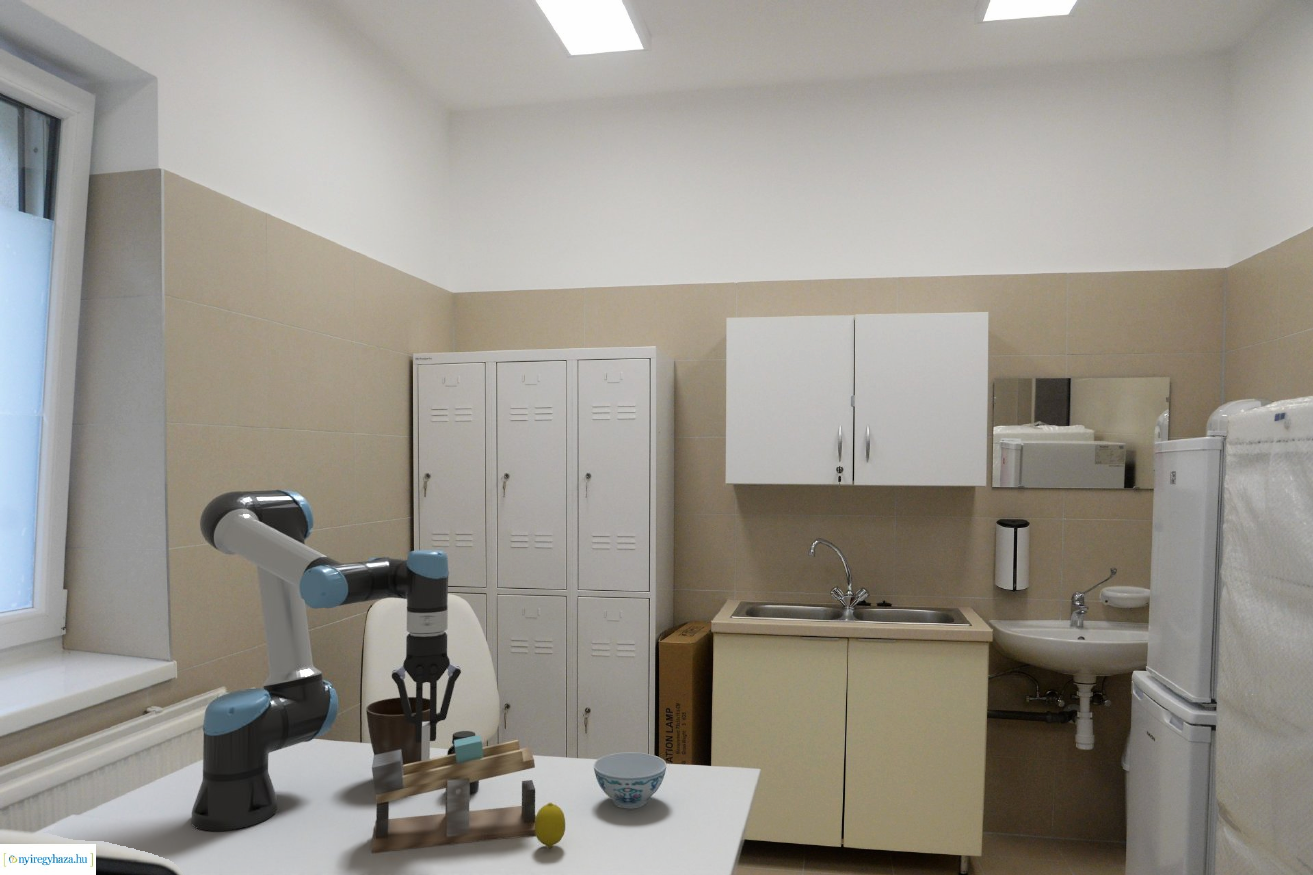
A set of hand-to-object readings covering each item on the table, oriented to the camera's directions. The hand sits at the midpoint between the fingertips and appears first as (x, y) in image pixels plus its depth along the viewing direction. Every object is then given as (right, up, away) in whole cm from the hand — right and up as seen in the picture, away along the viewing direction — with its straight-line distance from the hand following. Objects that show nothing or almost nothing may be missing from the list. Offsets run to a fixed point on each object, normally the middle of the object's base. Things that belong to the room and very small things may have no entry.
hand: (425, 758), depth 162 cm
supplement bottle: (+2, -15, +21) cm, 26 cm away
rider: (+8, -2, +2) cm, 9 cm away
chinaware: (+38, -15, +15) cm, 44 cm away
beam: (+6, -5, +1) cm, 8 cm away
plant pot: (-13, -15, +28) cm, 34 cm away
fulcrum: (+6, -14, +1) cm, 15 cm away
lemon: (+24, -14, -6) cm, 29 cm away
